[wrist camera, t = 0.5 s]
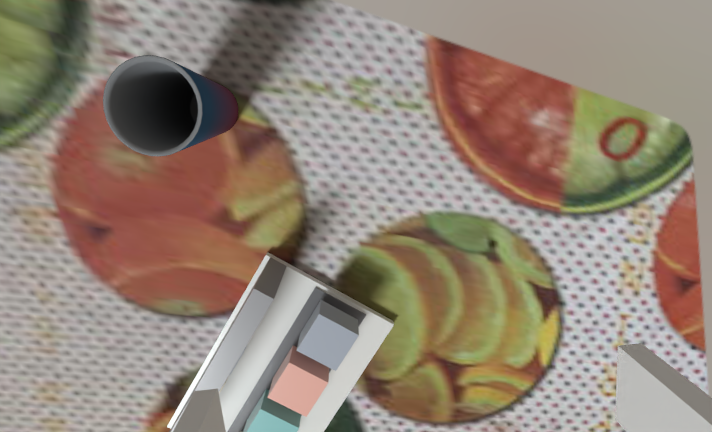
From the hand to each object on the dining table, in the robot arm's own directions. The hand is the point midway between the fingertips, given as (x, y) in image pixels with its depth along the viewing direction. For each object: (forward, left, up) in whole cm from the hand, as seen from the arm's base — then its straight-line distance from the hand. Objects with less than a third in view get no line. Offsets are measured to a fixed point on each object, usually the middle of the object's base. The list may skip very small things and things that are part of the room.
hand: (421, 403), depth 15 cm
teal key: (+3, -25, -32) cm, 41 cm away
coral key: (+3, -19, -32) cm, 37 cm away
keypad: (+1, -22, -35) cm, 41 cm away
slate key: (+3, -13, -32) cm, 35 cm away
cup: (-18, 0, -35) cm, 39 cm away
